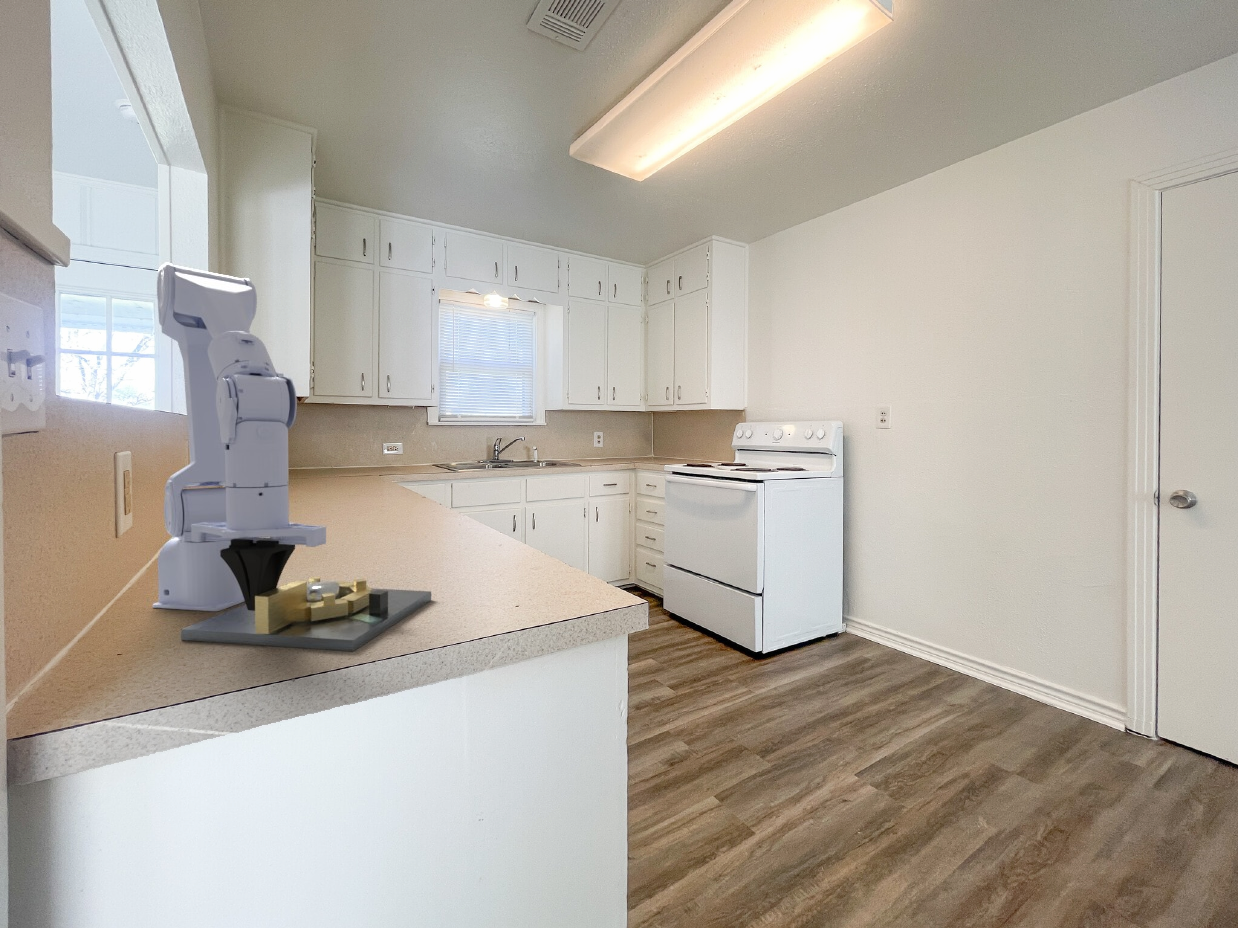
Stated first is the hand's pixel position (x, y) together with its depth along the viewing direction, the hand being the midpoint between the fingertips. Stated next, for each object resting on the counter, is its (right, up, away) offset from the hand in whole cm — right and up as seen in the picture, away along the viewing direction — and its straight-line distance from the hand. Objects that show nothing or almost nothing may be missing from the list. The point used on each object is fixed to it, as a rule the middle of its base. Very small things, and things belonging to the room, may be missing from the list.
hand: (260, 607), depth 59 cm
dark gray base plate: (+3, -3, +7) cm, 8 cm away
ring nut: (+3, -2, +5) cm, 6 cm away
